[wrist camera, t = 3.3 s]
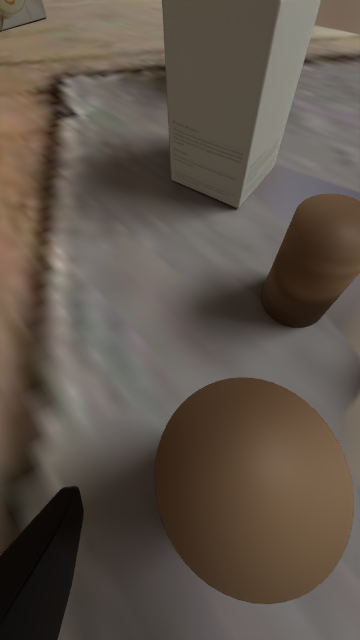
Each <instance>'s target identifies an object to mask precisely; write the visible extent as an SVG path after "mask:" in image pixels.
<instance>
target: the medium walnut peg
mask: <svg viewBox="0 0 360 640" xmlns="http://www.w3.org/2000/svg"><path fill="white" fill-rule="evenodd" d="M359 273H360V201H359V200H356V199H354V198H351V197H348V196H344V195H339V194H321V195H316V196H313V197H310V198H308V199H306V200H304V201H303V202H302V203H301V204H300V205H299V206H298V207H297V209H296V211H295V214H294V216H293V218H292V221H291V223H290V225H289V228H288V230H287V232H286V235H285V237H284V239H283V242H282V244H281V246H280V249H279V251H278V254H277V256H276V258H275V261H274V263H273V265H272V268H271V270H270V272H269V275H268V277H267V279H266V282H265V284H264V286H263V289H262V292H261V301H262V305H263V307H264V309H265V311H266V312H267V313H268V314H269V315H270V316H271V317H272V318H273V319H274V320H276V321H277V322H279V323H281V324H283V325H286V326H289V327H295V328H301V327H307V326H310V325H312V324H314V323H316V322H317V321H318V320H319V319H320V318H321V317H322V316H323V315H324V313H325V312H326V311H327V310H328V309H329V308H330V306H331V305H332V304H333V303H334V302H335V301H336V300H337V299H338V297H339V296H340V295H341V294H342V293H343V292H344V290H345V289H346V288H347V287H348V286H349V285H350V284H351V282H352V281H353V280H354V279H355V278H356V277H357V276H358V274H359Z"/></svg>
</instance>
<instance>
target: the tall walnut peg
mask: <svg viewBox="0 0 360 640" xmlns="http://www.w3.org/2000/svg"><path fill="white" fill-rule="evenodd" d="M154 478H155V493H156V500H157V506H158V509H159V513H160V516H161V520H162V523H163V525H164V527H165V530H166V532H167V535H168V537H169V539H170V540H171V542H172V544H173V546H174V548H175V549H176V551H177V552H178V554H179V555H180V556H181V558H182V559H183V560H184V562H185V563H186V564H187V565H188V566H189V567H190V568H191V570H192V571H193V572H194V573H195V574H196V575H197V576H198V577H200V578H201V579H202V580H203V581H205V582H206V583H207V584H208V585H210V586H211V587H213V588H215V589H216V590H218V591H220V592H221V593H223V594H225V595H228V596H230V597H233V598H235V599H238V600H242V601H246V602H250V603H259V604H273V603H282V602H286V601H289V600H293V599H296V598H299V597H300V596H302V595H304V594H306V593H308V592H310V591H312V590H313V589H314V588H315V587H317V586H318V585H319V584H321V583H322V582H323V581H324V580H325V579H326V578H327V577H328V575H329V574H330V573H331V572H332V571H333V570H334V568H335V567H336V565H337V563H338V562H339V560H340V559H341V557H342V555H343V552H344V550H345V548H346V546H347V543H348V540H349V536H350V533H351V529H352V522H353V515H354V495H353V485H352V480H351V475H350V470H349V467H348V464H347V461H346V458H345V455H344V453H343V451H342V448H341V446H340V444H339V442H338V440H337V439H336V437H335V435H334V433H333V432H332V430H331V429H330V427H329V426H328V425H327V423H326V422H325V421H324V419H323V418H322V417H321V416H320V415H319V414H318V413H317V411H316V410H315V409H314V408H312V407H311V406H310V405H309V404H308V403H307V402H306V401H305V400H303V399H302V398H300V397H299V396H298V395H296V394H295V393H293V392H291V391H289V390H288V389H286V388H284V387H282V386H279V385H277V384H275V383H272V382H268V381H265V380H261V379H254V378H230V379H225V380H221V381H217V382H214V383H212V384H209V385H207V386H205V387H203V388H201V389H199V390H198V391H196V392H195V393H194V394H192V395H191V396H189V397H188V398H187V399H186V400H185V401H184V402H183V403H182V404H181V405H180V406H179V408H178V409H177V410H176V411H175V412H174V414H173V415H172V417H171V419H170V420H169V422H168V423H167V425H166V428H165V430H164V432H163V434H162V437H161V440H160V443H159V446H158V450H157V456H156V461H155V474H154Z"/></svg>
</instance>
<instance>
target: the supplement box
mask: <svg viewBox="0 0 360 640" xmlns="http://www.w3.org/2000/svg"><path fill="white" fill-rule="evenodd" d="M320 1H321V0H162V8H163V26H164V46H165V65H166V87H167V107H168V126H169V147H170V163H171V179H172V180H173V181H175V182H178V183H180V184H183V185H185V186H187V187H189V188H192V189H194V190H196V191H199V192H201V193H203V194H206V195H208V196H210V197H213V198H215V199H217V200H219V201H222V202H224V203H226V204H229V205H231V206H233V207H236V208H239V207H240V206H241V205H242V204H243V202H244V201H245V200H246V199H247V198H248V196H249V195H250V194H251V193H252V192H253V191H254V189H255V188H256V187H257V186H258V185H259V184H260V182H261V181H262V180H263V179H264V178H265V176H266V175H267V174H268V173H269V172H270V170H271V169H272V168H273V167H274V165H275V162H276V158H277V154H278V151H279V147H280V144H281V140H282V137H283V133H284V130H285V126H286V123H287V119H288V115H289V112H290V108H291V104H292V101H293V97H294V94H295V90H296V87H297V83H298V80H299V76H300V73H301V69H302V66H303V62H304V59H305V55H306V52H307V48H308V44H309V41H310V37H311V34H312V30H313V26H314V22H315V19H316V16H317V12H318V9H319V5H320Z"/></svg>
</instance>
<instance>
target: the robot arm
mask: <svg viewBox="0 0 360 640" xmlns="http://www.w3.org/2000/svg"><path fill="white" fill-rule="evenodd" d="M83 513H84V511H83V504H82V500H81V495H80V491H79V488H78V487H77V486H72V487H64V488H62V489H61V490H60V491H59V492H58V493H57V494H56V495H55V496H54V497H53V498H52V499H51V501H50V502H49V503H48V504H47V505H46V506H45V507H44V508H43V509H42V510H41V511H40V513H39V514H38V515H37V516H36V517H35V518H34V519H33V520H32V521H31V522H30V523H29V525H28V526H27V527H26V528H25V529H24V530H23V531H22V532H21V533H20V534H19V536H18V537H17V538H16V539H15V540H14V541H13V542H12V543H11V544H10V545H9V546H8V548H7V549H6V550H5V551H4V552H3V553H2V554H1V555H0V640H57V639H58V636H59V632H60V628H61V624H62V620H63V617H64V613H65V609H66V605H67V601H68V598H69V593H70V589H71V585H72V580H73V575H74V569H75V563H76V557H77V551H78V545H79V539H80V534H81V528H82V522H83Z"/></svg>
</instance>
